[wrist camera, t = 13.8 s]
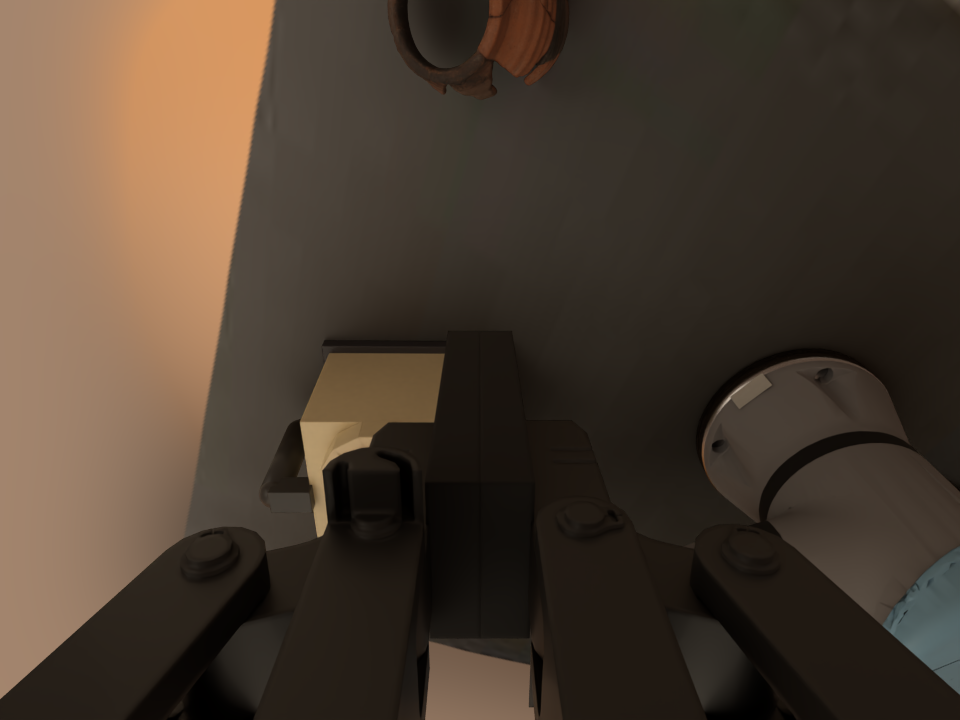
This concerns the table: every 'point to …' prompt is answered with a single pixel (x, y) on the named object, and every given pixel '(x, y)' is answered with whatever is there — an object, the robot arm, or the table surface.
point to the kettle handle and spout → (281, 479)
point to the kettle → (363, 406)
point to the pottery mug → (492, 45)
